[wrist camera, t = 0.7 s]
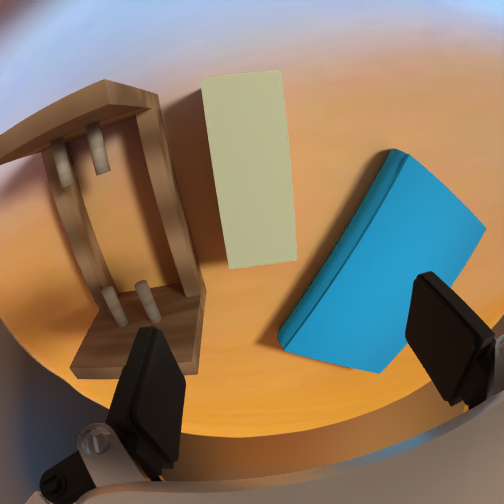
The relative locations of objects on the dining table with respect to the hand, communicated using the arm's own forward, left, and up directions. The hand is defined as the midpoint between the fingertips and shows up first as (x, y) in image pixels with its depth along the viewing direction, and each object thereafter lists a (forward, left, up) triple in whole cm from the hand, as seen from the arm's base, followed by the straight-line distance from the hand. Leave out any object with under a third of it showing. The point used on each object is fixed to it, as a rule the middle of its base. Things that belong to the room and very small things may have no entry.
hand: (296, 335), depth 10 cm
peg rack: (-1, -13, -20) cm, 23 cm away
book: (+12, +14, -20) cm, 27 cm away
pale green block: (-3, 0, -20) cm, 20 cm away
